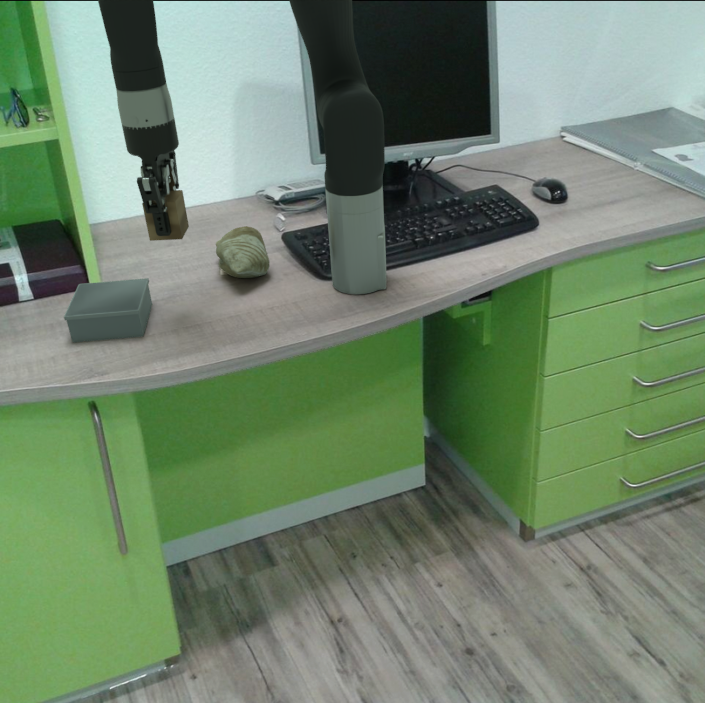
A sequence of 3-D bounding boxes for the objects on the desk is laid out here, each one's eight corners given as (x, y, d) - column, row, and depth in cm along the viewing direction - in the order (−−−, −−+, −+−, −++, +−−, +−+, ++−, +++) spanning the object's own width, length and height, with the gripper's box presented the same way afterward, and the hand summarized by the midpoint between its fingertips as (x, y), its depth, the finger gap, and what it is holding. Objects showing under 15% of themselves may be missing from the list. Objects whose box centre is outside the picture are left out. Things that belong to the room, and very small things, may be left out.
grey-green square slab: (153, 304, 139) (148, 278, 137) (144, 338, 130) (138, 310, 127) (85, 310, 139) (78, 284, 136) (71, 345, 129) (63, 316, 127)
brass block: (188, 226, 130) (182, 189, 127) (182, 239, 126) (175, 201, 123) (157, 227, 131) (150, 191, 128) (149, 240, 126) (142, 203, 123)
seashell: (198, 235, 150) (229, 201, 144) (241, 251, 155) (272, 219, 150) (206, 297, 142) (239, 263, 136) (250, 311, 148) (284, 280, 142)
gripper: (161, 130, 113) (182, 245, 121) (183, 103, 125) (201, 209, 134) (107, 133, 113) (132, 248, 122) (135, 106, 125) (155, 211, 134)
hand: (168, 227), depth 128 cm, fingers closed on brass block, 5 cm apart
